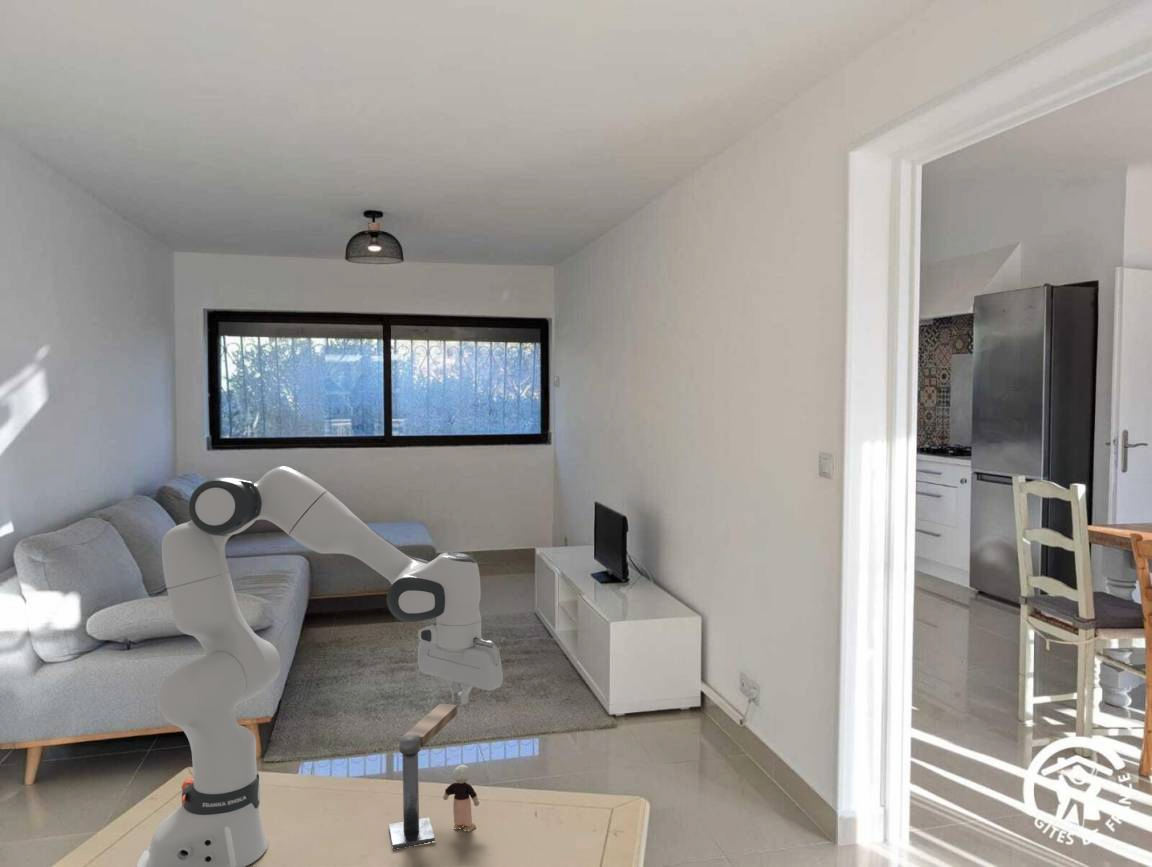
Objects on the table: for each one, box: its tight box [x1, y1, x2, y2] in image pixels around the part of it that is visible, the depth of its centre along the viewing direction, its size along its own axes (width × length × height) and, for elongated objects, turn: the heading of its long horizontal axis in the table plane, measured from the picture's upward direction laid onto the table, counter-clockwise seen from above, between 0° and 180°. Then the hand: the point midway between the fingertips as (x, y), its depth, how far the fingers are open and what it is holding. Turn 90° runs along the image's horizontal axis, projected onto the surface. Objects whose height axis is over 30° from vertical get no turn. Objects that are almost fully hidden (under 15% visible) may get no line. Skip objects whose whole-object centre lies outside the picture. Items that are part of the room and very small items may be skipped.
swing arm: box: [399, 703, 458, 754], centre depth 169 cm, size 20×4×2 cm, turn 165°
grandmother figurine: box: [442, 764, 480, 832], centre depth 165 cm, size 8×4×13 cm, turn 84°
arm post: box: [388, 752, 436, 850], centre depth 162 cm, size 8×8×17 cm
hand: (460, 702), depth 164 cm, fingers closed
